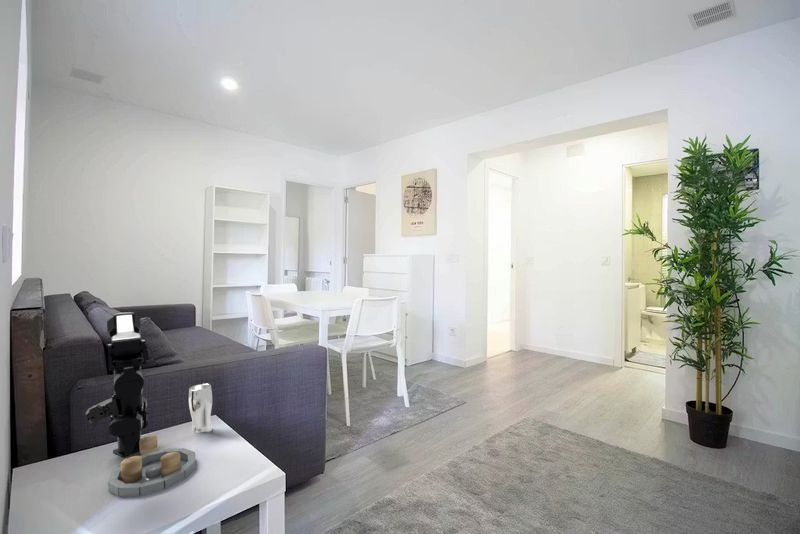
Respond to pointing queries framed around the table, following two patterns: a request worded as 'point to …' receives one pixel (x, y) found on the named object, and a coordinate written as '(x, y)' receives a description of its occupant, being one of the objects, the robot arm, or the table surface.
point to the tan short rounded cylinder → (170, 463)
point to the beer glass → (200, 407)
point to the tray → (153, 474)
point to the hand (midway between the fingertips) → (131, 447)
